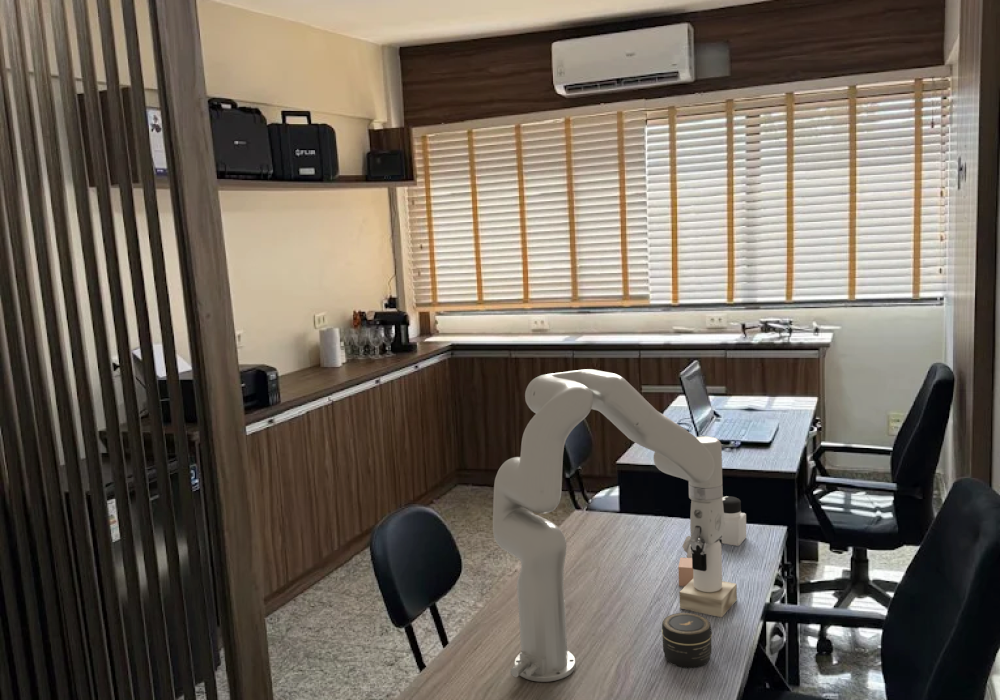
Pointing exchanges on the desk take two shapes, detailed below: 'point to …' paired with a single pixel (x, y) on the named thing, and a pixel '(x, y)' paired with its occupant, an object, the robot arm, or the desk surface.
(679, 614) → the jar
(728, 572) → the desk surface
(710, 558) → the can
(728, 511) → the medicine bottle
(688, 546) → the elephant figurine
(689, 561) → the terracotta block
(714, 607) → the birch block
